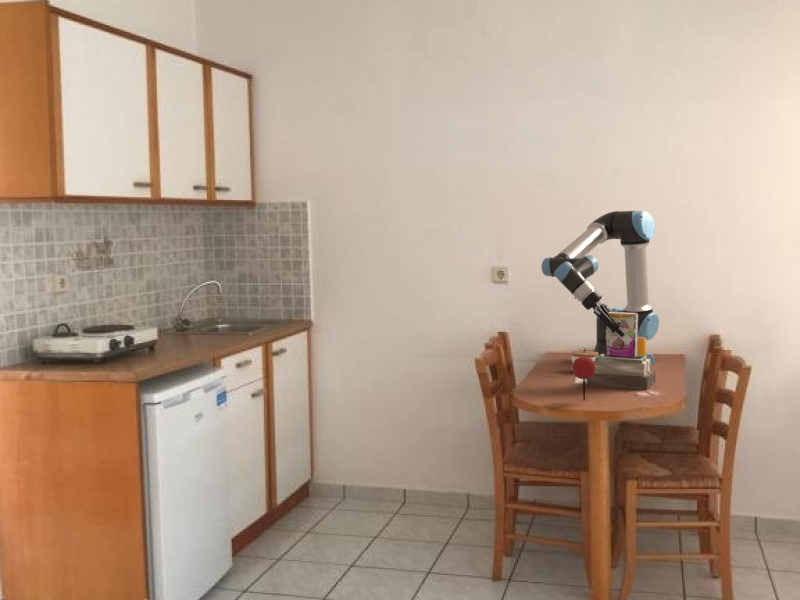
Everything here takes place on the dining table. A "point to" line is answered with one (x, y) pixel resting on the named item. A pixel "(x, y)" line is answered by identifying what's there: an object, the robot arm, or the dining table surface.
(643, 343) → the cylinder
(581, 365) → the lollipop
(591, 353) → the lidded jar
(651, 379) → the tower base
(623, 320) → the candy bar box
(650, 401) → the dining table surface
